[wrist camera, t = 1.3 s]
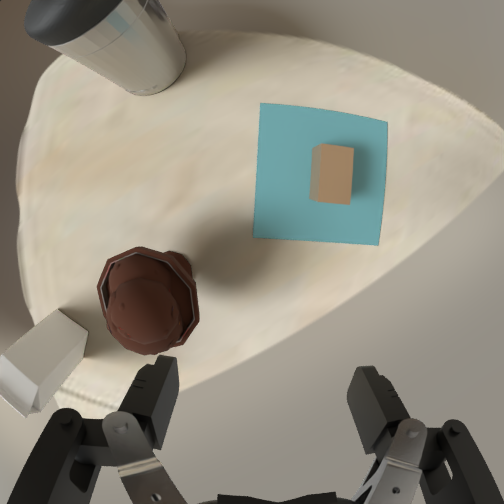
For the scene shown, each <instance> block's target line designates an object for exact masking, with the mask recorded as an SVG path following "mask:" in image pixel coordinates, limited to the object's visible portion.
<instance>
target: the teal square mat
mask: <svg viewBox="0 0 504 504" xmlns="http://www.w3.org/2000/svg"><path fill="white" fill-rule="evenodd" d="M386 161H387V122H385V121H381V120H376V119H372V118H367V117H363V116H358V115H353V114H347V113H342V112H336V111H330V110H323V109H316V108H308V107H300V106H291V105H280V104H266V103H260V119H259V137H258V155H257V173H256V191H255V209H254V227H253V238H269V239H287V240H303V241H319V242H335V243H349V244H364V245H378V243H379V236H380V228H381V221H382V212H383V202H384V191H385V179H386Z"/></svg>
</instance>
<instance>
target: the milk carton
mask: <svg viewBox="0 0 504 504" xmlns="http://www.w3.org/2000/svg"><path fill="white" fill-rule="evenodd" d="M87 336H88V331H87V330H85V329H84V328H82V327H81V326H79V325H78V324H77V323H75V322H74V321H72V320H71V319H70V318H68V317H67V316H66V315H64V314H63V313H62V312H60V311H59V310H58V309H56V310H55V311H53V312H52V313H51V314H50V315H48V316H47V317H46V318H45V319H43V320H42V321H41V322H40V323H38V324H37V325H36V326H35V327H33V328H32V329H31V330H30V331H29V332H27V333H26V334H25V335H24V336H22V337H21V338H20V339H19V340H18V341H17V342H15V343H14V344H13V345H12V346H11V347H10V348H8V349H7V350H6V351H5V352H4V353H3V354H2V355H1V358H0V396H1V397H2V398H3V399H4V400H5V401H6V402H7V403H8V404H10V405H11V406H12V407H13V408H14V409H15V410H16V411H17V412H18V413H20V414H21V415H22V416H23V417H25V418H27V416H28V415H29V414H31V413H38V412H41V411H42V409H43V408H44V407H45V406H46V404H47V403H48V402H49V400H50V399H51V398H52V397H53V395H54V394H55V393H56V391H57V390H58V389H59V388H60V386H61V385H62V384H63V383H64V381H65V380H66V379H67V378H68V376H69V375H70V374H71V373H72V371H73V370H74V369H75V368H76V367H77V365H78V364H79V363H80V362H81V361H82V359H83V355H84V350H85V345H86V340H87Z"/></svg>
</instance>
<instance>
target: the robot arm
mask: <svg viewBox="0 0 504 504" xmlns="http://www.w3.org/2000/svg"><path fill="white" fill-rule="evenodd" d="M0 1H1V0H0ZM24 27H25V30H26V32H27V34H28V35H29V36H30V37H31V38H33V39H35V40H37V41H39V42H41V43H43V44H45V45H47V46H49V47H51V48H53V49H55V50H57V51H59V52H61V53H63V54H64V55H66V56H68V57H70V58H72V59H74V60H76V61H77V62H79V63H81V64H83V65H85V66H86V67H88V68H90V69H92V70H93V71H95V72H97V73H98V74H100V75H102V76H103V77H105V78H107V79H108V80H110V81H112V82H113V83H115V84H117V85H118V86H120V87H122V88H123V89H125V90H126V91H128V92H130V93H132V94H134V95H139V96H147V95H152V94H155V93H158V92H160V91H162V90H164V89H165V88H167V87H169V86H170V85H171V84H172V83H173V82H174V81H175V80H176V79H177V78H178V77H179V75H180V74H181V72H182V71H183V68H184V66H185V62H186V52H185V49H184V47H183V45H182V43H181V42H180V40H179V38H178V37H179V34H178V33H177V31H176V29H175V28H174V26H173V24H172V22H171V21H170V19H169V17H168V15H167V14H166V12H165V10H164V9H163V7H162V5H161V4H160V2H159V0H32V1H31V3H30V5H29V7H28V10H27V12H26V16H25V21H24ZM178 392H179V376H178V366H177V359H176V357H170V356H164V355H159V356H158V358H157V360H156V362H155V364H154V365H150V364H146V365H145V366H144V367H142V368H141V369H140V370H139V371H138V373H137V375H136V377H135V380H133V382H132V384H131V386H130V388H129V390H128V392H127V394H126V396H125V398H124V399H123V401H122V403H121V405H120V407H119V409H118V411H117V412H112V413H110V414H108V415H107V416H106V417H105V418H104V419H85V418H82V417H81V415H80V414H79V413H78V412H77V411H76V410H74V409H71V408H62V409H59V410H57V411H56V412H55V413H53V415H52V417H51V418H50V420H49V422H48V423H47V425H46V427H45V428H44V430H43V432H42V434H41V435H40V438H39V439H38V441H37V443H36V444H35V446H34V448H33V450H32V452H31V454H30V456H29V458H28V460H27V462H26V464H25V465H24V467H23V470H22V472H21V474H20V476H19V478H18V480H17V482H16V484H15V486H14V489H13V491H12V493H11V495H10V498H9V500H8V502H7V504H89V503H90V499H91V496H92V493H93V490H94V487H95V484H96V481H97V478H98V475H99V472H100V469H101V466H117V468H118V473H119V476H120V478H121V480H122V483H123V485H124V487H125V489H126V491H127V493H128V495H129V497H130V499H131V501H132V503H133V504H187V502H186V501H185V499H184V498H183V496H182V495H181V494H180V492H179V491H178V489H177V488H176V486H175V485H174V483H173V481H172V480H171V479H170V477H169V475H168V474H167V472H166V470H165V469H164V467H163V466H162V464H161V462H160V461H159V460H158V459H157V458H156V456H155V454H154V453H153V449H158V450H161V448H162V445H163V442H164V438H165V435H166V432H167V428H168V425H169V422H170V418H171V415H172V412H173V409H174V406H175V403H176V399H177V396H178ZM347 402H348V405H349V408H350V410H351V413H352V416H353V419H354V422H355V424H356V427H357V430H358V433H359V436H360V439H361V442H362V444H363V448H364V450H365V454H371V453H375V454H376V458H375V459H374V461H373V463H372V465H371V467H370V469H369V471H368V473H367V475H366V477H365V478H364V480H363V482H362V484H361V486H360V488H359V489H358V491H357V492H356V494H355V495H354V496H353V498H352V499H351V500H348V499H344V498H337V497H336V492H329V493H321V494H311V495H306V496H302V497H299V498H296V499H292V500H288V501H284V502H272V501H267V500H262V499H257V498H252V497H248V496H232V495H221V494H218V497H217V500H213V501H207V502H202V503H199V504H411V503H412V500H413V498H414V495H415V492H416V489H417V486H418V484H420V487H421V490H422V492H423V496H424V499H425V502H426V504H504V501H503V498H502V496H501V494H500V491H499V489H498V487H497V485H496V483H495V480H494V478H493V476H492V474H491V472H490V470H489V468H488V466H487V464H486V462H485V460H484V458H483V456H482V455H481V453H480V451H479V449H478V447H477V445H476V444H475V442H474V440H473V438H472V436H471V435H470V433H469V431H468V429H467V428H466V426H465V425H464V424H463V423H462V422H461V421H459V420H454V419H452V420H448V421H446V422H445V423H444V425H443V426H442V428H426V426H425V424H424V423H423V422H421V421H420V420H417V419H414V418H410V416H409V414H408V412H407V410H406V408H405V407H404V405H403V403H402V401H401V399H400V398H399V397H398V394H397V392H396V391H395V389H394V387H393V386H392V384H391V382H390V381H389V380H388V379H387V378H385V377H384V376H383V375H379V374H378V372H377V370H376V368H375V367H374V366H360V367H357V368H356V370H355V373H354V376H353V378H352V381H351V383H350V386H349V389H348V392H347ZM446 460H447V462H448V464H449V466H450V468H451V471H452V473H453V477H452V480H451V477H450V475H449V473H448V470H447V468H446V466H445V463H444V462H445V461H446Z"/></svg>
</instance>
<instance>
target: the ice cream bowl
mask: <svg viewBox="0 0 504 504" xmlns="http://www.w3.org/2000/svg"><path fill="white" fill-rule="evenodd" d="M97 290H98V295H99V299H100V303H101V307H102V311H103V315H104V317H105V318H106V320H107V329H108V330H109V331H110V333H111V334H112V335H113V336H114V338H116V339H117V340H118V341H119V342H120V343H121V344H122V345H123V346H124V347H125V348H126V349H128V350H131V351H134V352H136V353H139V354H142V355H149V354H152V355H156V354H158V353H160V352H164V351H167V350H169V348H172V347H176V346H180V345H183V344H184V343H185V341H186V340H187V339H188V337H189V336H190V334H191V333H192V331H193V330H194V328H195V327H196V325H197V324H198V323H199V306H198V298H197V289H196V282H195V281H194V280H193V279H192V271H191V265H190V264H189V262H188V261H187V260H186V259H185V258H184V256H183V255H182V254H178V253H175V252H171V251H167V252H165V253H162V252H158V251H155V250H152V249H148V248H145V247H135V248H133V249H130V250H128V251H126V252H123V253H121V254H119V255H117V256H114V257H112V258H110V259H108V260H107V262H106V264H105V267H104V269H103V272H102V274H101V277H100V279H99V282H98V284H97Z"/></svg>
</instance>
